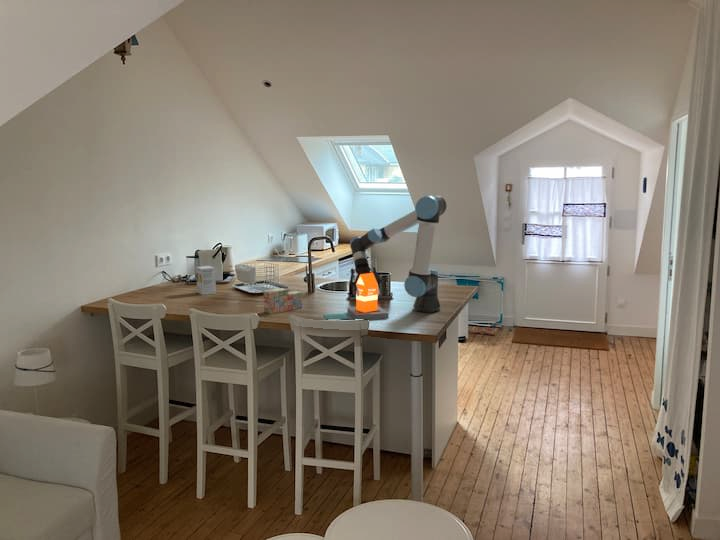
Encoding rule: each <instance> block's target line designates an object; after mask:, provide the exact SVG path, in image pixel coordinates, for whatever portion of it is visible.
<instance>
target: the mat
mask: <svg viewBox="0 0 720 540" xmlns="http://www.w3.org/2000/svg"><path fill="white" fill-rule="evenodd" d="M323 317H324V318H325V320H327V319H350V320H351V318H350V316H348V315H347V314H346V313H345V312H344V313H332V314H331V313H330V314H323Z"/></svg>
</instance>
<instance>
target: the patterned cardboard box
mask: <svg viewBox="0 0 720 540" xmlns="http://www.w3.org/2000/svg"><path fill="white" fill-rule="evenodd" d="M302 301H303V299H302V292H301V291H297V290H293V291H289V289H288V288H283V287H281V288H273V289H269V290H268V289H267V290H263V310H264V311H263V312H264V313H266V314H268V315H272V314H278V313H283V312H288V311H293V310H298V309H302V308H303V306H302V305H303V302H302Z"/></svg>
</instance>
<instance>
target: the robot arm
mask: <svg viewBox="0 0 720 540" xmlns="http://www.w3.org/2000/svg"><path fill="white" fill-rule="evenodd" d="M446 201H447V200H445V198H444V196H441V195H438V194H433V195H432V194H431V195H423V197H421V198H419V199H418V200H417V202H416V203H415V206H414V207H415V208H414V209H415V210H412V211H411V212H409V213H407V214H405V215H404V216H402V217H399V218H398V219H396V220H394V221H393V222H391V223H389V224H387V225H384V226H383V227H381V228H379V229H378V228H376V227H374V228H371V229H370V230H368V232H366V233H365V234H363V235H362V236H359V235H357V236H353V237H351V239H350V241H349V247H350V250H351V253H352V258H353V263H354V264H353V265H354V268H351V269H350V271H349V272H350V279H349V283H348V284H349V286H352V287H353V291H354V292H356V293H357V297H359V294H360V293H359V289H358V284H356V283H357V281H358V279H359V276H360V274H367V273H373V274H374V277H375V279H376V282H377V295H378V296H380V293H381V292H380V290H381V284H382V282H383V279H382V278H381V277H380V275H379V273H378V272H377V270H376V267H372V268H371V267H370V264H369V259H368V257H367V253H366V251H367V250H368V249H370V248H371V247H372V246H375V245H378V244H381V243H383V244H384V243H386V242H388V241H389V240H390V239H392V238H394V237H396V236H397V235H400V234H402V233H403V232H405V231H407V230H410V229H411V228H413V227H415V226H417V225H418V228H417V235H416V242H415V248H414V256H413V262H412V267H411V268H410V269H409V270H408V271H409V272H408V275H407V276H408V277H406V279H405V281H404V284H403V286H404V290H405V292H406V293H407V294H408V295H409V296H411V297H413V298H415V299H414V300H415V301H414V303H413V311H415V310H416V312H419V311H422V312H421V313H436V312H435V311H437V312H440V311H441V310H442V309H441V308H442V307H441V303H440V300H439V297H438V295H439V292H438V291H439V271H438V270H437V269H433V268H432V269H431V268H430V262H431V255H432V249H433V243H434V235H435V228H436V226H437V225H438V224H439V222H440V218H441V217H440V216H442V215H443V214H444V213H445V212H446V211H447V205H448V204H447V202H446ZM355 273H356V274H357V275H356V277H355V280H354V276H355ZM353 280H354V281H353ZM356 293H355V294H356ZM440 309H441V310H440ZM439 310H440V311H439Z"/></svg>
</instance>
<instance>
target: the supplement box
mask: <svg viewBox="0 0 720 540" xmlns="http://www.w3.org/2000/svg"><path fill="white" fill-rule="evenodd" d="M195 270H196V271H195V273H196V293H198V294H199V295H202V296H204V295H205V296H206V295H213V294H214V295H215V294H217V288H216V287H217V285H216V284H217V281H216V267H213V266H211V265H204V266H202V265H201V266H196V267H195Z"/></svg>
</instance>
